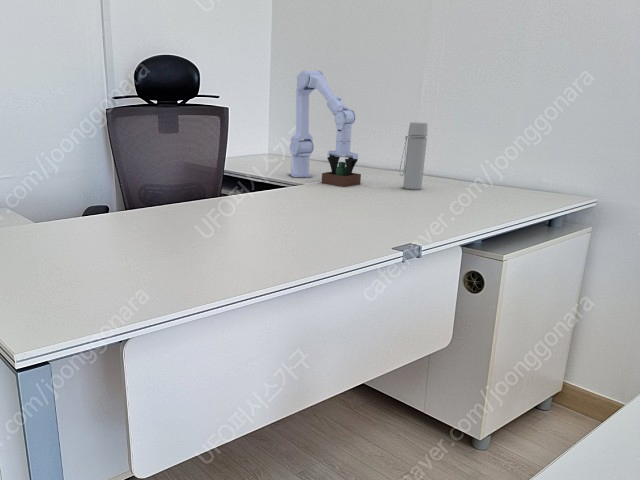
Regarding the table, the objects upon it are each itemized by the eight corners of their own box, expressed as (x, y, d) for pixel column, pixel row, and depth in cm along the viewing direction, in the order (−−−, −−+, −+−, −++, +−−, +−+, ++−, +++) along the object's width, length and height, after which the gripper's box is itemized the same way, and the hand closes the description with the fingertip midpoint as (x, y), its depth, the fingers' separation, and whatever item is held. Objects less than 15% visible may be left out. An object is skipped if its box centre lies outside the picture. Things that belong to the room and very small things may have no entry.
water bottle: (419, 187, 238) (426, 122, 229) (423, 190, 231) (430, 123, 222) (396, 186, 239) (402, 122, 230) (399, 190, 232) (405, 123, 223)
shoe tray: (321, 182, 247) (322, 173, 245) (337, 180, 253) (338, 170, 252) (344, 186, 238) (344, 176, 237) (360, 184, 244) (361, 174, 243)
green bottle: (333, 181, 247) (334, 161, 244) (344, 181, 248) (345, 161, 245) (337, 183, 243) (338, 163, 240) (348, 182, 244) (349, 163, 241)
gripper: (364, 141, 237) (361, 176, 242) (336, 139, 247) (334, 172, 252) (352, 143, 233) (350, 178, 237) (324, 140, 243) (323, 173, 248)
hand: (341, 175), depth 244 cm, fingers open, 7 cm apart
